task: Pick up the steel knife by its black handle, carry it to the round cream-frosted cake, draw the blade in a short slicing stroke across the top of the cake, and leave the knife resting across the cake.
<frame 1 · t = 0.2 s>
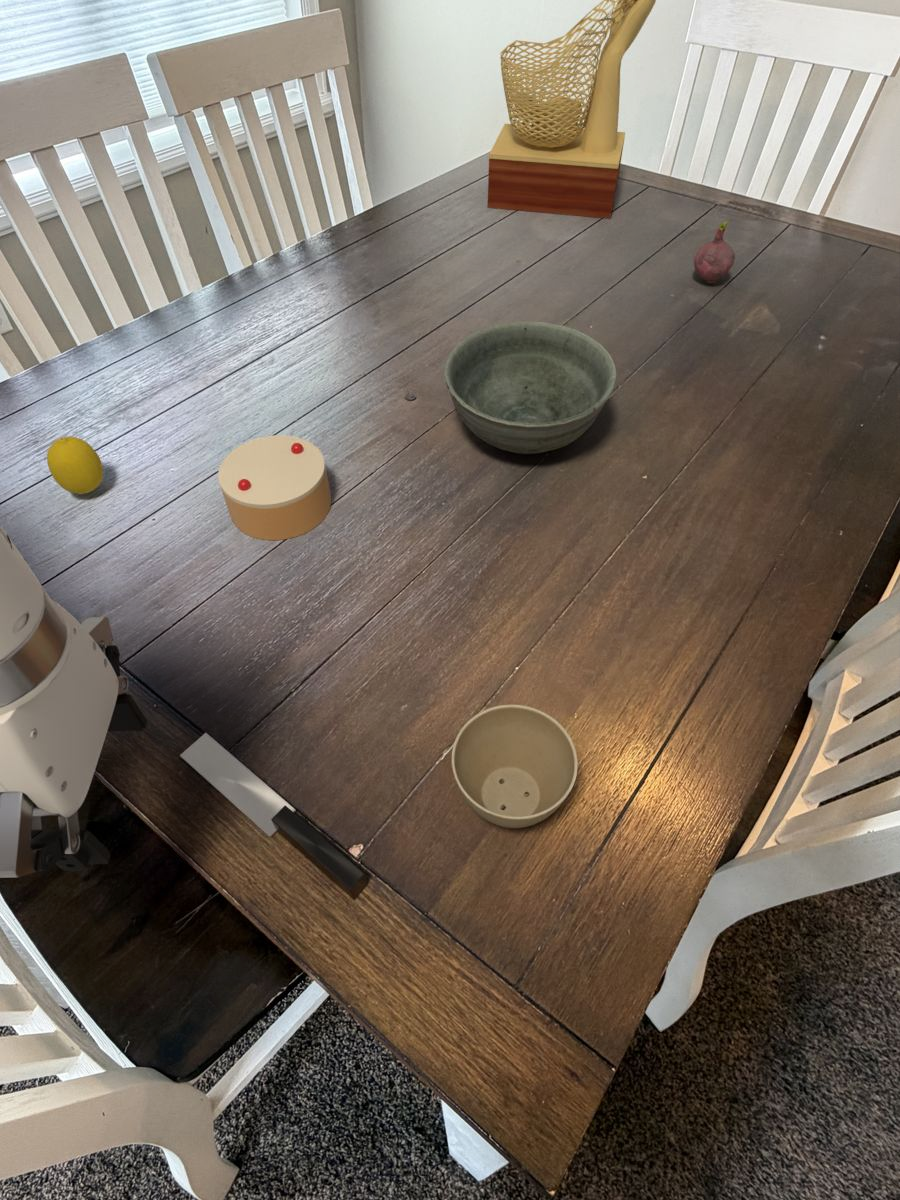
hand: (107, 789, 50), 13 cm above the table, tool pointing down, fingers open, 9 cm apart
bowl: (523, 434, 95), on the table
lemon: (89, 493, 89), on the table
knife: (279, 820, 62), on the table
flower pot: (509, 797, 64), on the table
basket: (557, 198, 142), on the table
vegetable: (707, 284, 120), on the table
cake: (280, 504, 87), on the table
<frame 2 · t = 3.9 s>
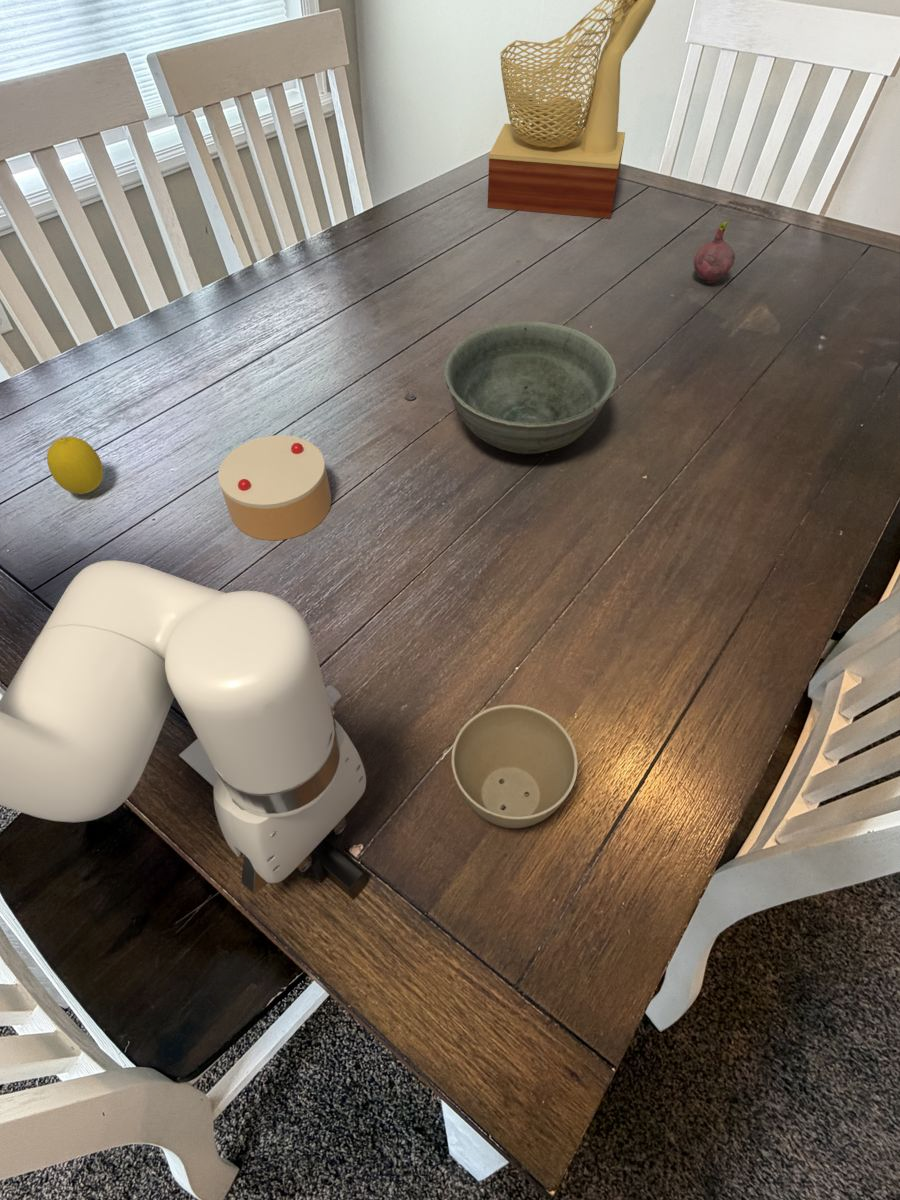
hand: (320, 856, 60), 0 cm above the table, tool pointing down, fingers closed on knife
knife: (278, 820, 62), on the table, touching gripper
everything else where it was.
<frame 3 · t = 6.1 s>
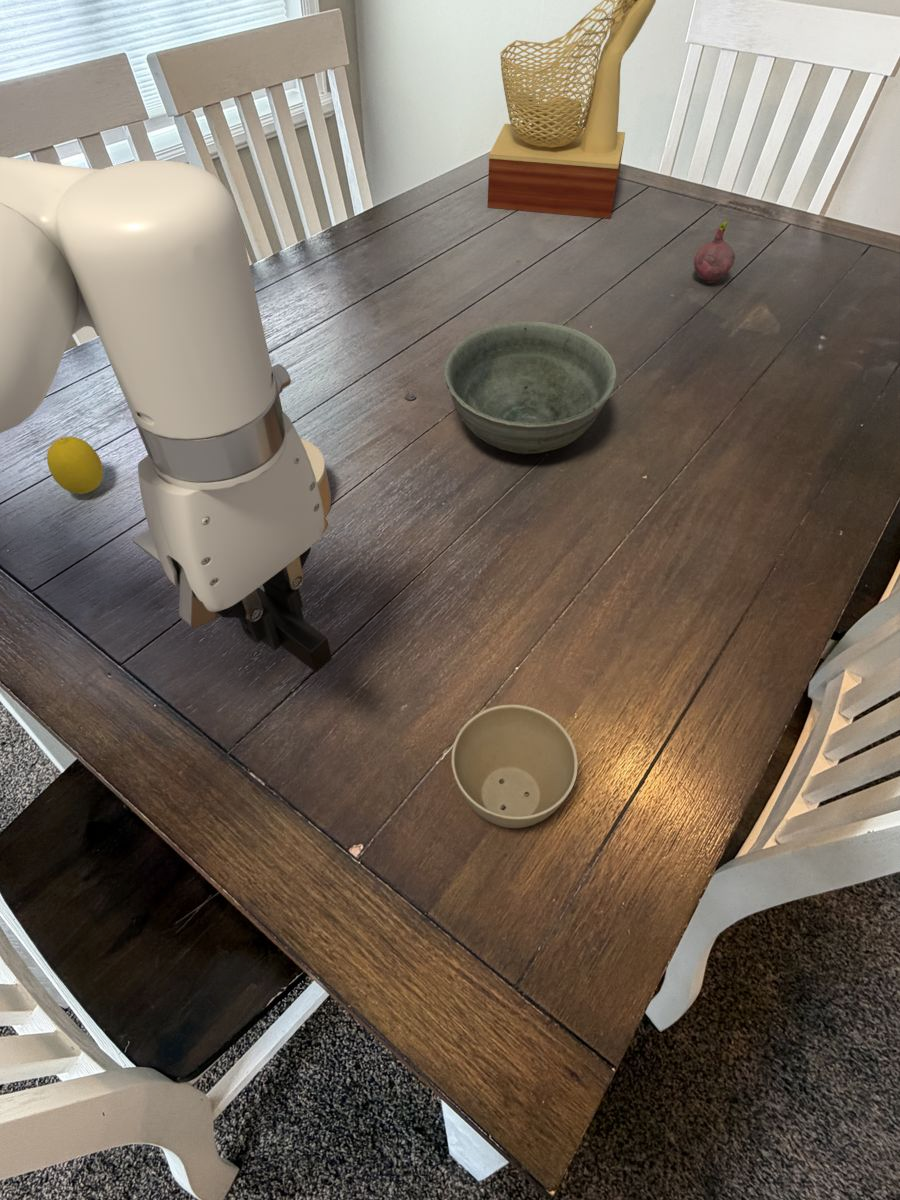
hand: (276, 627, 54), 17 cm above the table, tool pointing down, fingers closed on knife
knife: (238, 600, 56), point 17 cm above the table, touching gripper
everything else where it was.
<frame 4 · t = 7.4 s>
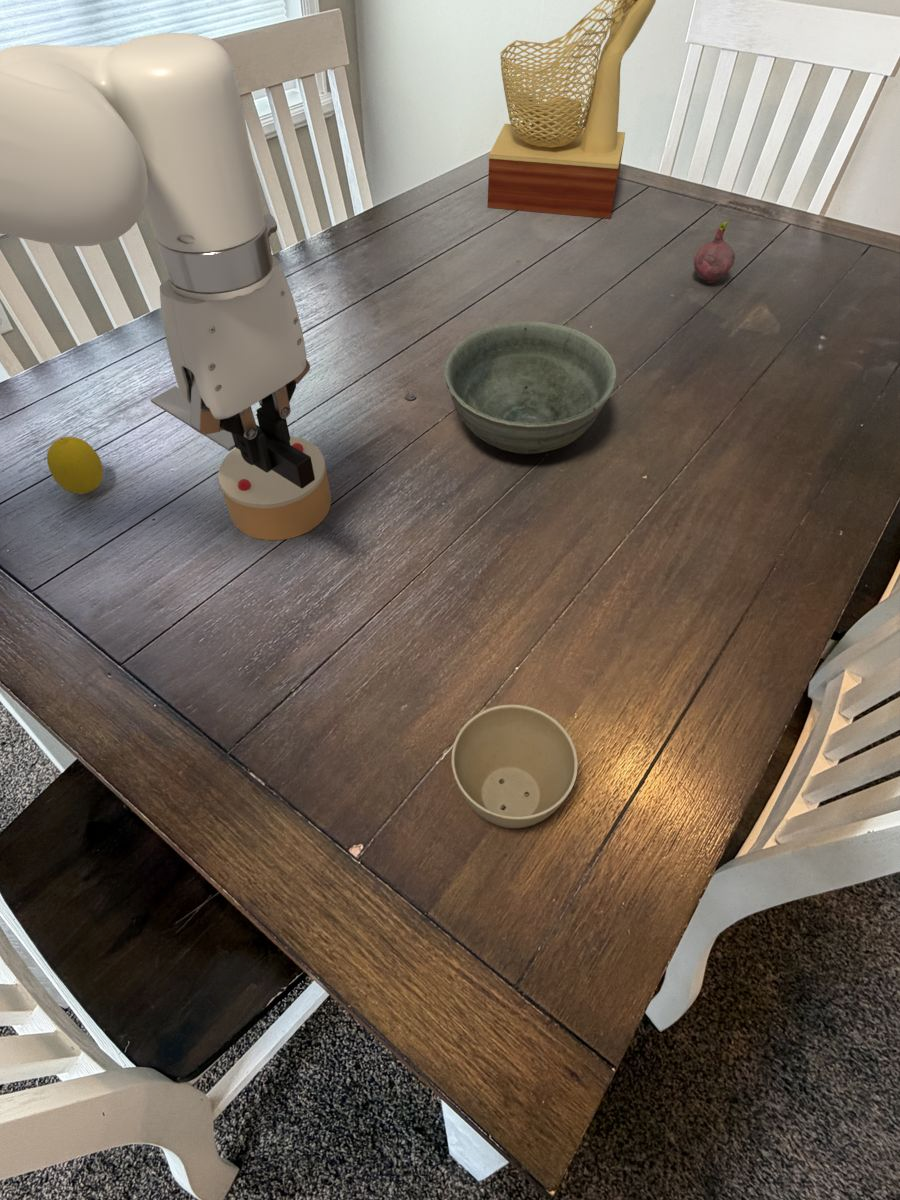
hand: (268, 457, 66), 17 cm above the table, tool pointing down, fingers closed on knife
knife: (238, 441, 68), point 17 cm above the table, touching gripper
everything else where it was.
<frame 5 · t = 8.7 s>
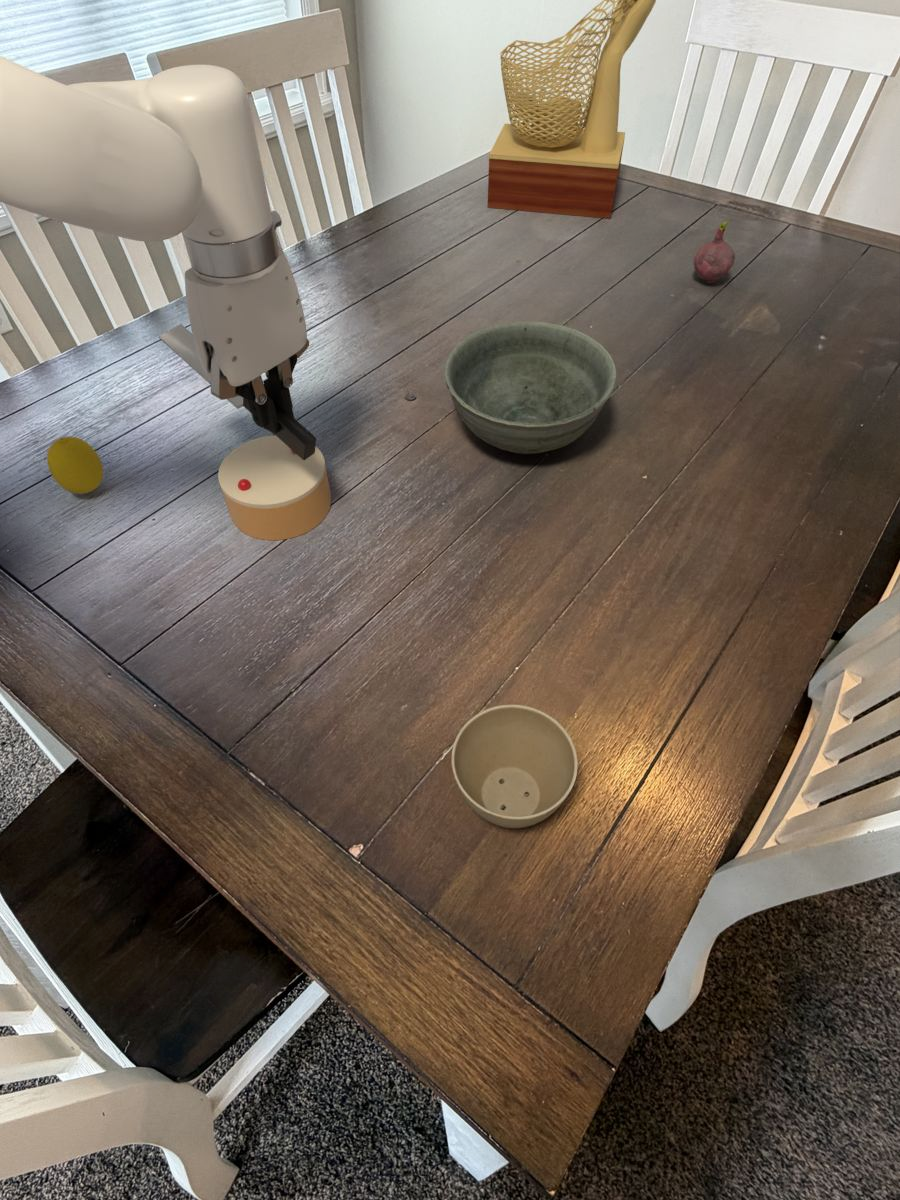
hand: (275, 422, 76), 13 cm above the table, tool pointing down, fingers closed on knife
knife: (245, 399, 77), point 14 cm above the table, tilted 20°, touching gripper
everything else where it was.
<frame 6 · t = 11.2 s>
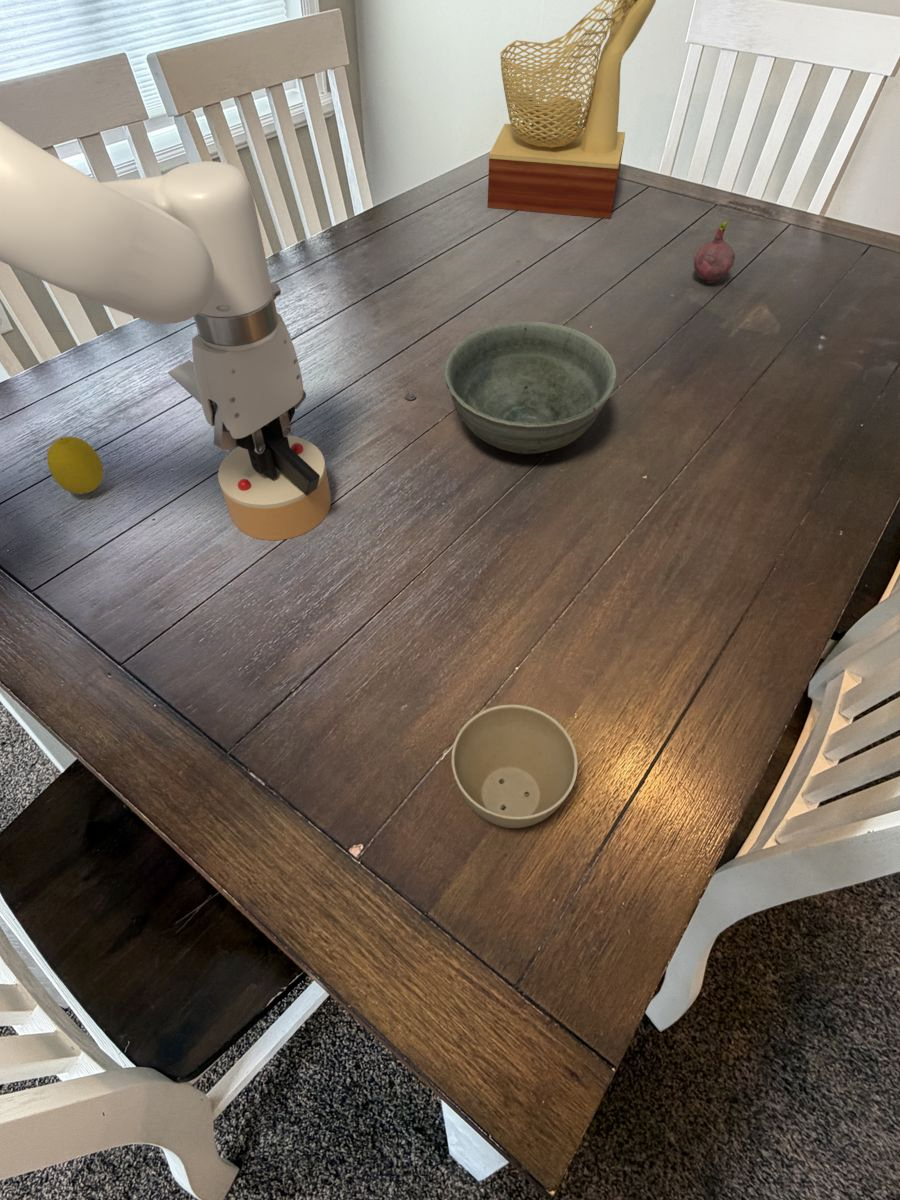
hand: (273, 467, 82), 6 cm above the table, tool pointing down, fingers closed on knife
knife: (251, 435, 81), point 9 cm above the table, tilted 22°, touching gripper
everything else where it was.
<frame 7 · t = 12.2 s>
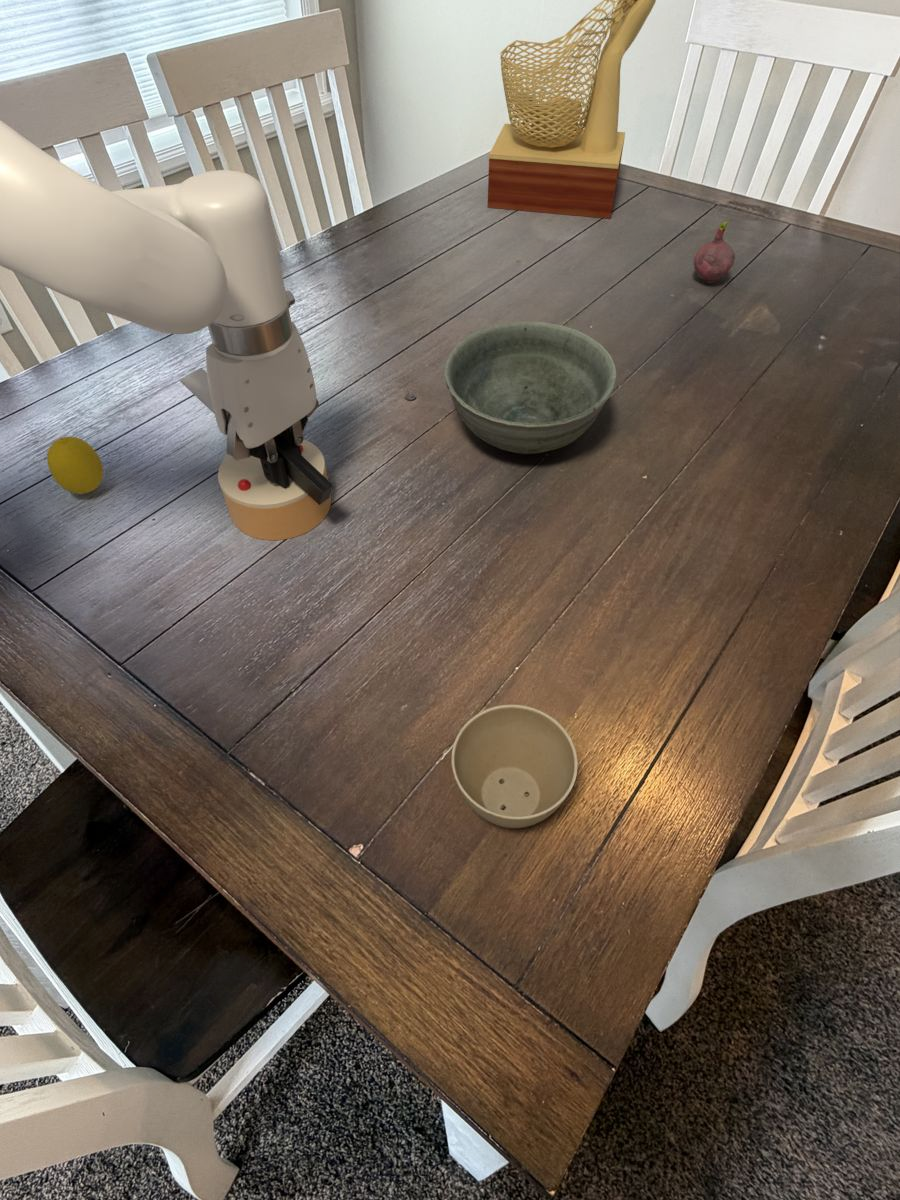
hand: (285, 475, 82), 6 cm above the table, tool pointing down, fingers closed on knife
knife: (263, 443, 80), point 9 cm above the table, tilted 22°, touching gripper
everything else where it was.
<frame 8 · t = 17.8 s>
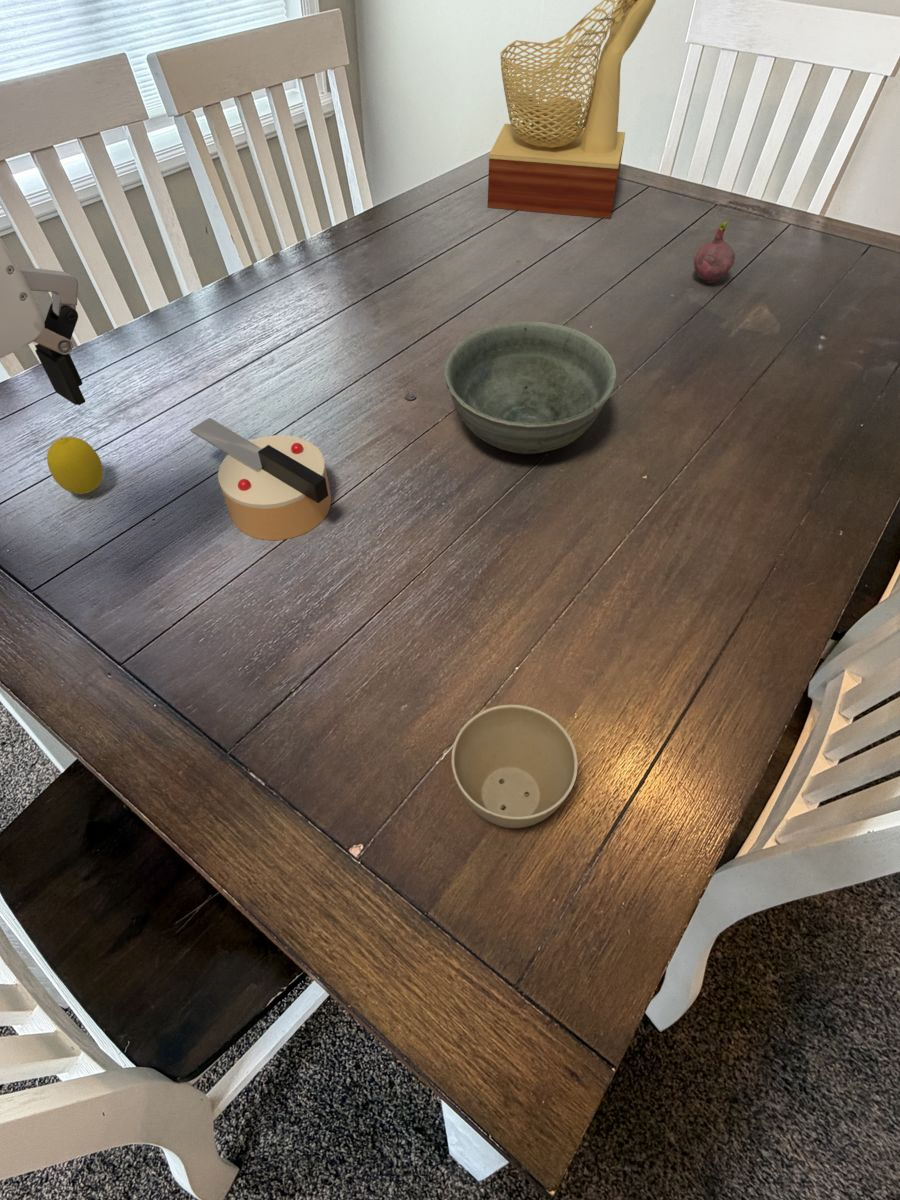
hand: (14, 428, 54), 26 cm above the table, tool pointing down, fingers open, 9 cm apart
knife: (264, 464, 83), point 6 cm above the table, touching cake
cake: (280, 504, 87), on the table, touching knife
everything else where it was.
at the end: knife touching cake; knife inside the target area on the cake (1.4 cm from its centre), point 5.6 cm above the cake's base; cake moved 0.0 cm from its start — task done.
